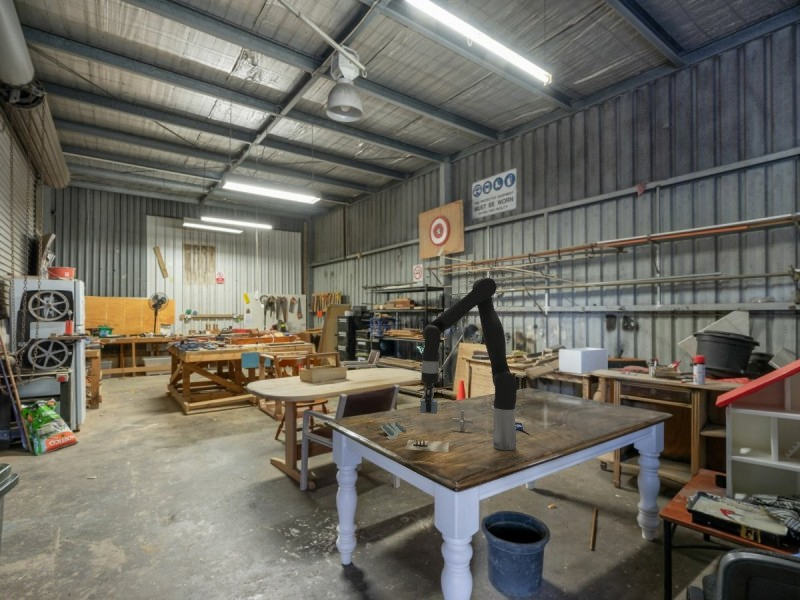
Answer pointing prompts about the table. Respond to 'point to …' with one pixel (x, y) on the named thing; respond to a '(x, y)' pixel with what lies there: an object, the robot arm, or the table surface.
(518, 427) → the bar clamp
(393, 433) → the metal bracket
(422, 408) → the block
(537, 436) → the table surface
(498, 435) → the robot arm
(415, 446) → the board
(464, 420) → the grey cross-shaped piece
